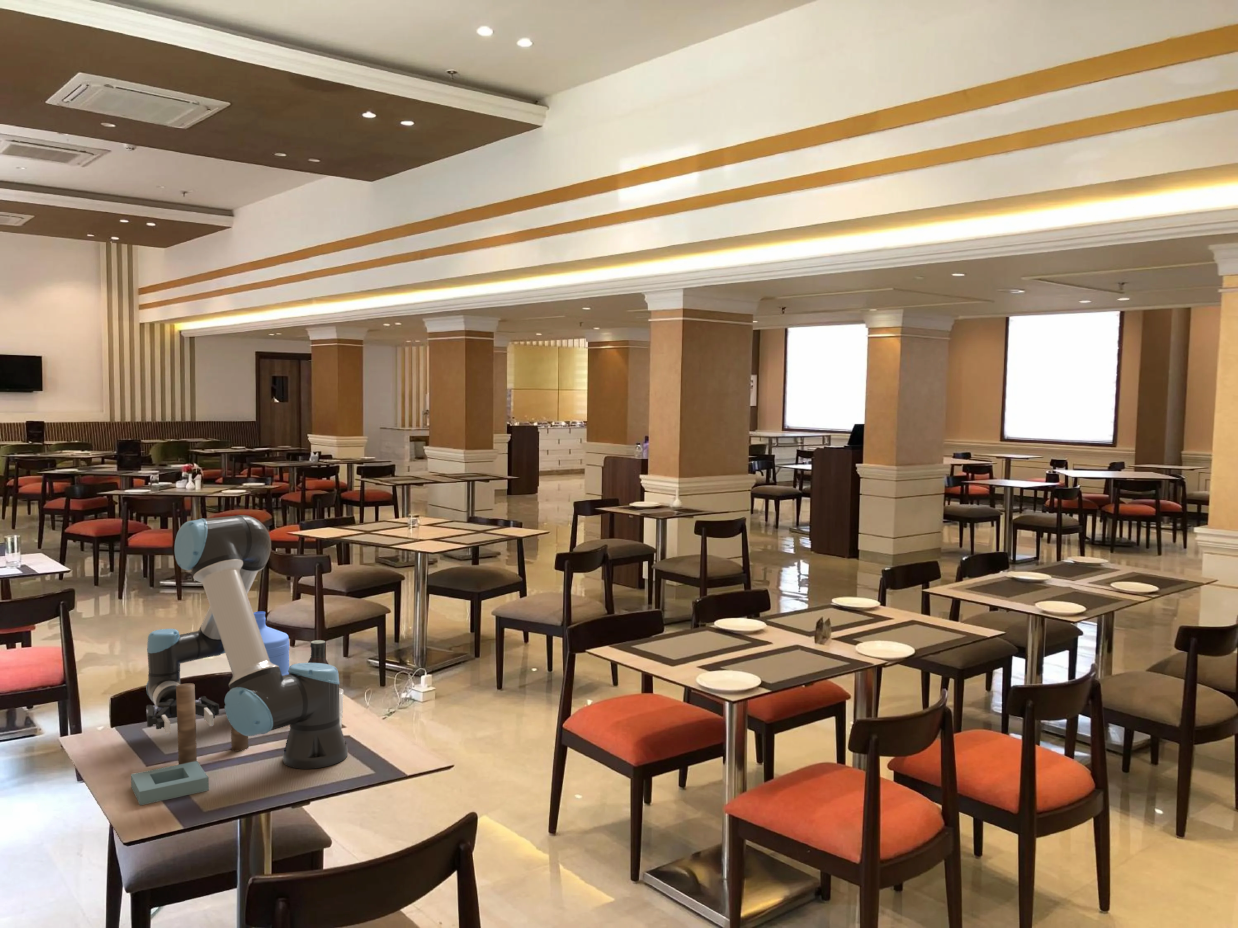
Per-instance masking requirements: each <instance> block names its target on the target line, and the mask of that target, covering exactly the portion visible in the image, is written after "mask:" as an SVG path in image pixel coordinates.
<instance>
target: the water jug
mask: <svg viewBox="0 0 1238 928" xmlns="http://www.w3.org/2000/svg"><path fill="white" fill-rule="evenodd" d="M253 613H254V616H255V619H256V622H257V625H258V628H259V631H260V634H261V637H262V640H263V643H264V646H265V648H266V651H267V654H268V657H269V660H270V662H271V663H272V664H275V665H277V666H279V668H280V671H281V674H282V676H284V675H288V674H289V672H288V670H289V667H290V640H289V639H290V638H289V635H288V634H287V632H283V631H281V630H278V629H275V628H272V627H269V626H267V625H266V620H267V619H266V611H263V610H262V611H255V612H254V611H253Z"/></svg>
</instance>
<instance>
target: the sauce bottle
mask: <svg viewBox="0 0 1238 928" xmlns="http://www.w3.org/2000/svg"><path fill="white" fill-rule="evenodd" d="M326 645H327V644H326V641H325V640H321V639H319V640H312V641H310V658H309V659H308V661H307V663H323V664H328V665H330V664H329V662H328V660H327V659H326V654H325V653H326V651H325V650H326Z"/></svg>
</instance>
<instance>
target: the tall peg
mask: <svg viewBox="0 0 1238 928" xmlns="http://www.w3.org/2000/svg"><path fill="white" fill-rule="evenodd" d="M195 688H196V686H195V684H194V683H193V682H192V683H191V682H188V683H180V685H178V686H176V697H177V717H176V722H177V723H176V724H177V726H176V727H177V753H178V754H177V757H178V761H177V762H178V764H177V765H180V764H185V763H190V762H195V761H197V762H198V759H197V758H198V757H197V756H198V755H197V722H196V721H197V720H196V714H195V700H196V689H195Z"/></svg>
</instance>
